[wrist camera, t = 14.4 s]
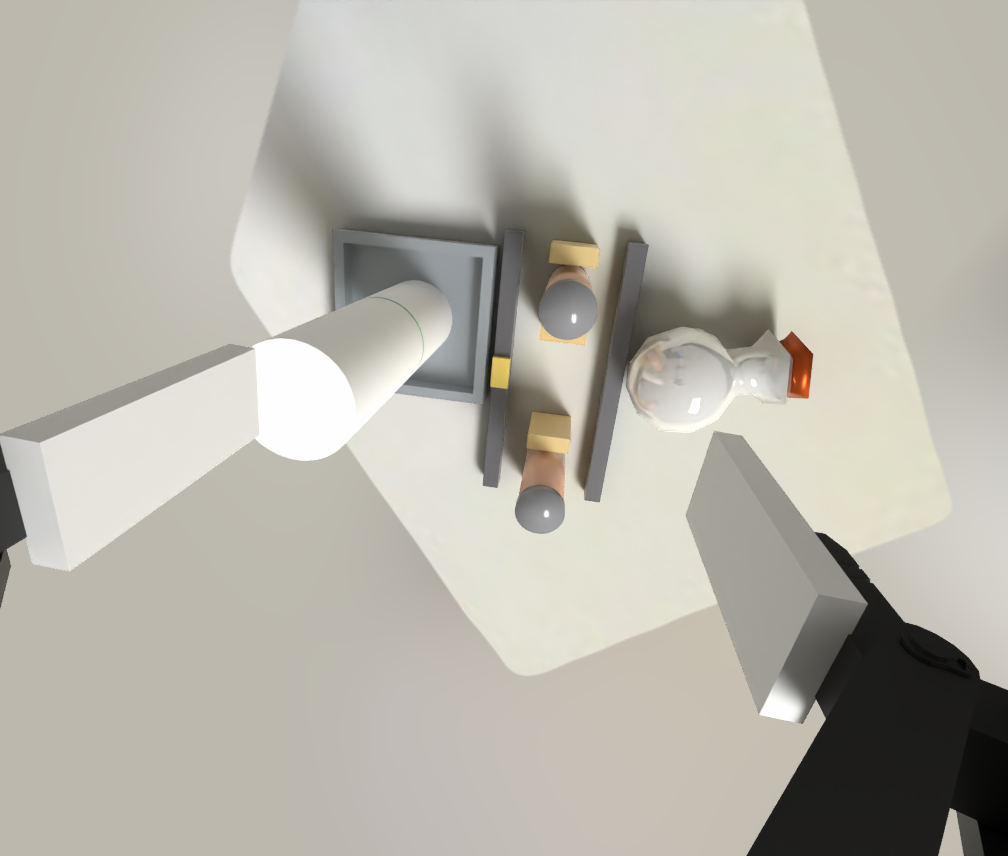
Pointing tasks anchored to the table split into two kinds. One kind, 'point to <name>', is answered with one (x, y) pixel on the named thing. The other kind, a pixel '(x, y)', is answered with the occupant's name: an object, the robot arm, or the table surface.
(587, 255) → the fuse holder
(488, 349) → the tray
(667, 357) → the potion bottle
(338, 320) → the cylindrical container
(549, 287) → the cylinder
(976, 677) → the robot arm
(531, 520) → the fuse
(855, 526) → the table surface
